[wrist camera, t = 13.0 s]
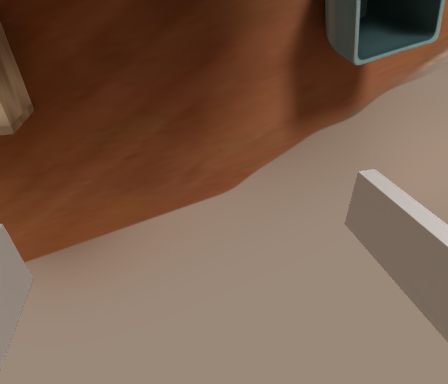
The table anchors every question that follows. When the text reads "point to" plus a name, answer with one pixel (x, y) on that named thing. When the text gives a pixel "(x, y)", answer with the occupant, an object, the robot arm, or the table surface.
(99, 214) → the table surface
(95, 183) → the table surface
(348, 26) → the flower pot
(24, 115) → the crate
